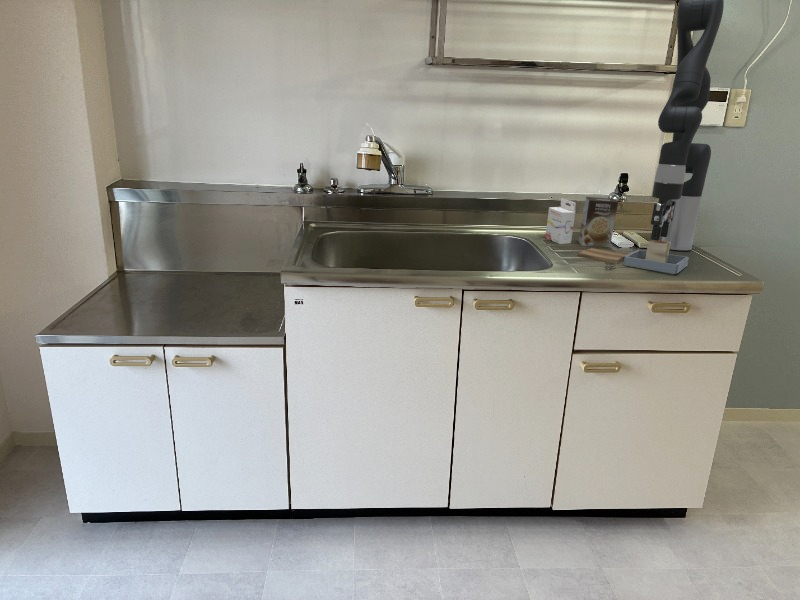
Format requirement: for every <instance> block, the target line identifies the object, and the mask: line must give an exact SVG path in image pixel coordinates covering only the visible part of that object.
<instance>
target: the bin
mask: <svg viewBox="0 0 800 600" xmlns="http://www.w3.org/2000/svg"><path fill="white" fill-rule="evenodd" d="M646 252H647V250H643V249H636V250H634V251H632V252H630V253H628V255H626V256H625V258H624V260H623V263H622V265H624V266H626V267H631V268H638V269H643V270H649V271H650V270H651V271H656V272H662V273H667V274H668V273H669V274H674V275H675V274H679V273H680V272H681V271H683V270H684V269H685V268H687V267H688V264H689V259H690V257H688V256H686V255H679V254H677V255H676V254H671V253H669V255H668V261H667V263H664V262H658V261H652V260H645V258H646Z"/></svg>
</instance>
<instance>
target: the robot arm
mask: <svg viewBox="0 0 800 600" xmlns="http://www.w3.org/2000/svg"><path fill="white" fill-rule="evenodd" d="M724 2H725V1H724V0H679V2H678V3H679V4H678V6H677V15H676V17H677V18H676V21H677V22H676V28H677V29H676V32H677V33H676V34H677V38H676V39H677V41H676V42H677V62H676V63H677V64H676V71H675V74H674V80H673V83H672V88H671V92H670V95H669V97H668V100H667V101H666V104H665V105H664V107H663V109H662V111H660V114H659V117H658V120H657V121H658V122H657V126H658V128H659V130H660V131H661V132H662V133H664V134H665V133H666V134H672V141H670V142H669V141H668V142H665V143H663V144H662V145H661V148H660V153H659V158H658V164H657V168H656V171H655V177H654V182H653V187H652V194H651V196H652V197H653V198H655V199H658V202H654V205H653V209H652V215H651V219H650V225H651V226H652V229H651V236H650V239H651V240H657V241H658V240H660V239H661V241H668V242H671V244H670V249H669V250H675V251H691V250H692V249H693V243H694V238H695V232H696V228H697V222H698V218H699V217H698V216H699V212H700V205H701V199H702V196H703V195H702V194H703V190H704V186H705V183H706V178H707V177H706V176H707V174H708V170H709V165H710V163H711V162H710V161H711V155H712V149H711V146H710V145H709V144H708V143H700V142H699V143H698V142H697V143H696V142H695V143H694V142H692V141H693V139H694V138H695V135H696V133H697V131H698V129H699V127H700V125H701V123H702V119H703V110H704V109H705V108H706V106H707V105H708V103H709V100H710V93H711V79H712V78H711V74H710V72H709V70H708V68H707V67H706V66H707V63H708V59H709V56H710V54H711V51H712V48H713V46H714V42H715V40H716V37H717V34H718V32H719V28H720V25H721V22H722V17H723V14H724V5H725V4H724ZM697 31H703V33H701V37H700V38H699V40H698V41H697V43H696V44H695V45H694V43H693V39H692V32H697ZM686 174H692V175H691V177H690V179H688V180H686V181H685V178H686Z"/></svg>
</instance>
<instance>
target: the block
mask: <svg viewBox="0 0 800 600" xmlns="http://www.w3.org/2000/svg"><path fill="white" fill-rule="evenodd" d="M670 244H671V242H668V241H662V239H661V240H660V239H659V240H658V241H657V240H652V239H651V240H649V241H647V247H646V251H647V252H646V258H644V259H645V260H652V261H658V262H664V263H668V262H667V261H668V255H669V254H670V250H671V249H670Z"/></svg>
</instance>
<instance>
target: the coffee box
mask: <svg viewBox="0 0 800 600" xmlns="http://www.w3.org/2000/svg"><path fill="white" fill-rule="evenodd" d="M618 204H619V201H618V200H616V199H614V198H609V197H598V196H597V197H596V196H595V197H594V196H585V200H584V207H583V210H582V211H583V212H582V218H581V224H580V229H579V231H580V232H579V234H578V235H579V236H578V243H579V244H580V245H581V246H582V247H600V248H601V247H604V248H605V247H606V248H611V243H612V240H613V232H614V227H615V221H616V216H617V209H618Z"/></svg>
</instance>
